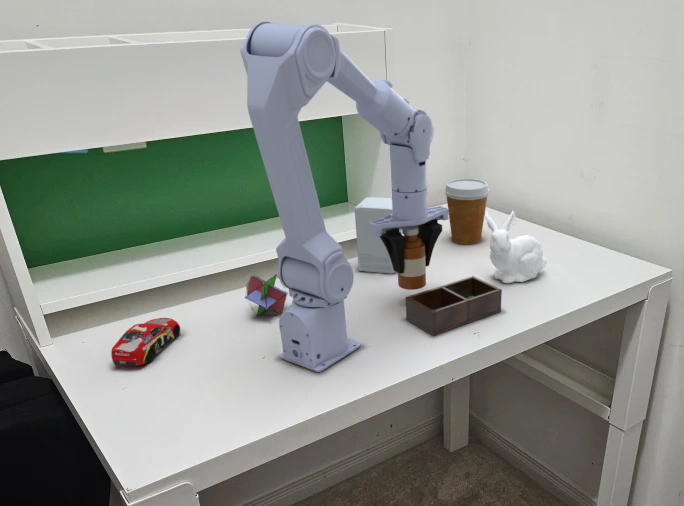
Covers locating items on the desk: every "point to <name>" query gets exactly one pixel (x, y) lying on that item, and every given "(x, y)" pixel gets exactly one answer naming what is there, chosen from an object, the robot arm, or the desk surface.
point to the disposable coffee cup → (466, 209)
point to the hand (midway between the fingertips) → (411, 267)
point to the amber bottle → (413, 261)
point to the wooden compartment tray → (453, 305)
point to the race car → (144, 341)
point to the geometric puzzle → (265, 294)
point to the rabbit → (514, 253)
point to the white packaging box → (368, 245)
